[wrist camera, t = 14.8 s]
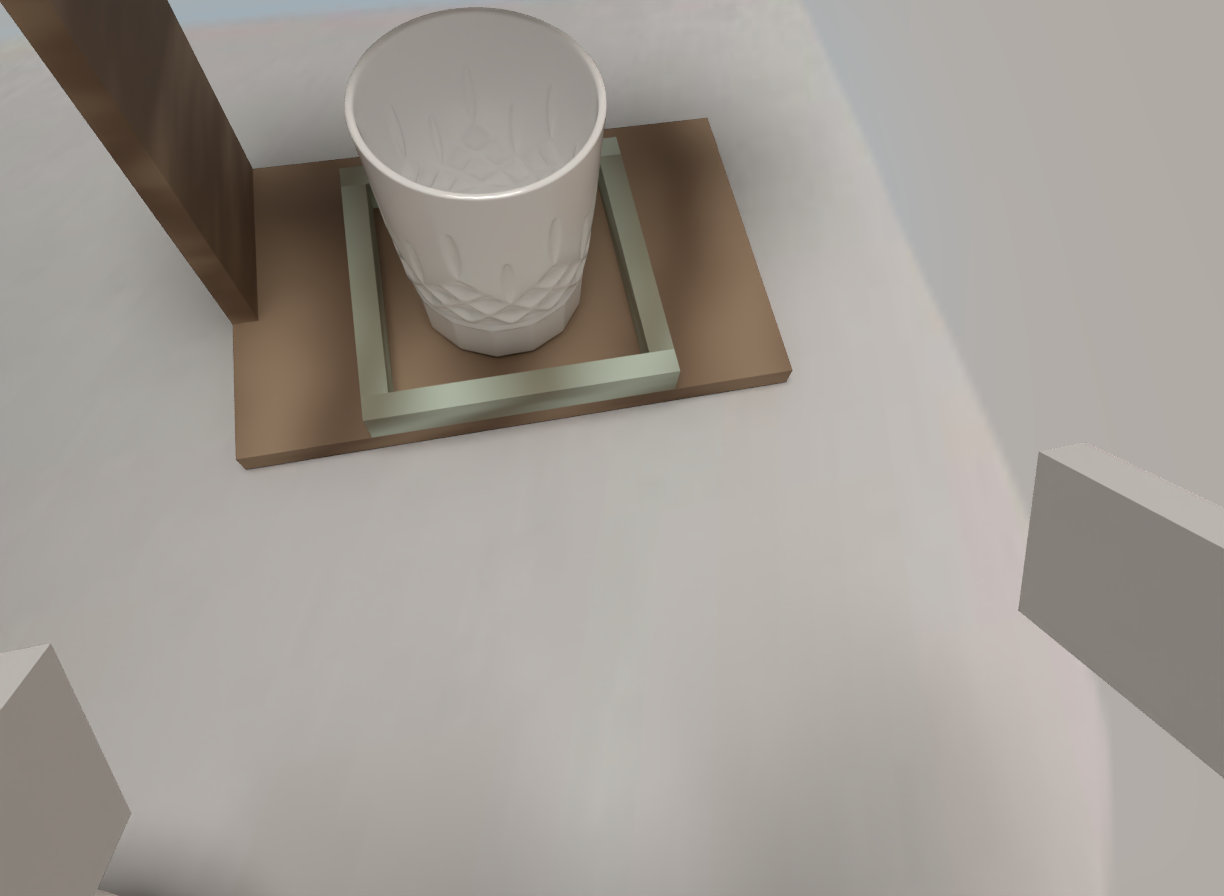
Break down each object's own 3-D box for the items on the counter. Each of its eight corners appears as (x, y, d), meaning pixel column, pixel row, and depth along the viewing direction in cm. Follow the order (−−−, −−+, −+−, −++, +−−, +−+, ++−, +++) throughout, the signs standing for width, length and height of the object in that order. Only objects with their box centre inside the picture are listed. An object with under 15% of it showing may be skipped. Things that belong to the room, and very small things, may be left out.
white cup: (379, 347, 31) (303, 166, 22) (438, 198, 34) (393, -15, 25) (570, 389, 31) (573, 224, 22) (612, 235, 34) (630, 34, 25)
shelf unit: (245, 469, 30) (-228, 4, 12) (237, 187, 35) (-99, -429, 17) (785, 381, 33) (1053, -98, 15) (703, 133, 38) (828, -440, 20)
